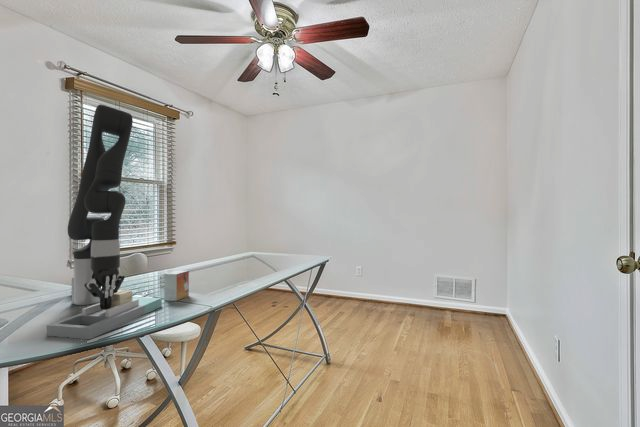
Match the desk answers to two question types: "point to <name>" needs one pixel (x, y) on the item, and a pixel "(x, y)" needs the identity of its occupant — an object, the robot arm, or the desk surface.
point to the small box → (176, 285)
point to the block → (121, 297)
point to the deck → (102, 318)
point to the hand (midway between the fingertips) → (105, 308)
